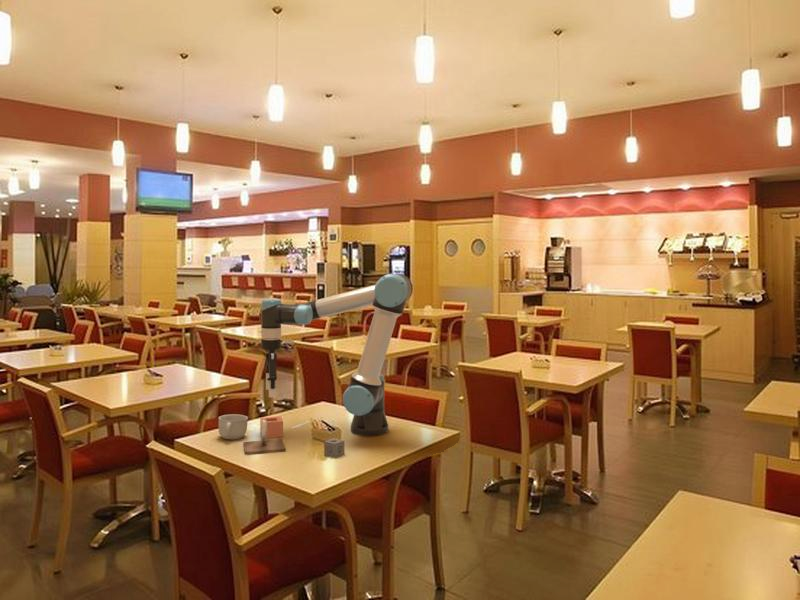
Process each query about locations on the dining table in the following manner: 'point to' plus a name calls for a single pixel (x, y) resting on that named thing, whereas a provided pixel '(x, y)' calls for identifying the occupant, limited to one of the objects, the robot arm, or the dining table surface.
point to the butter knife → (300, 424)
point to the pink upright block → (273, 426)
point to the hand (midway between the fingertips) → (270, 393)
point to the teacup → (232, 426)
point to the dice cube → (334, 447)
